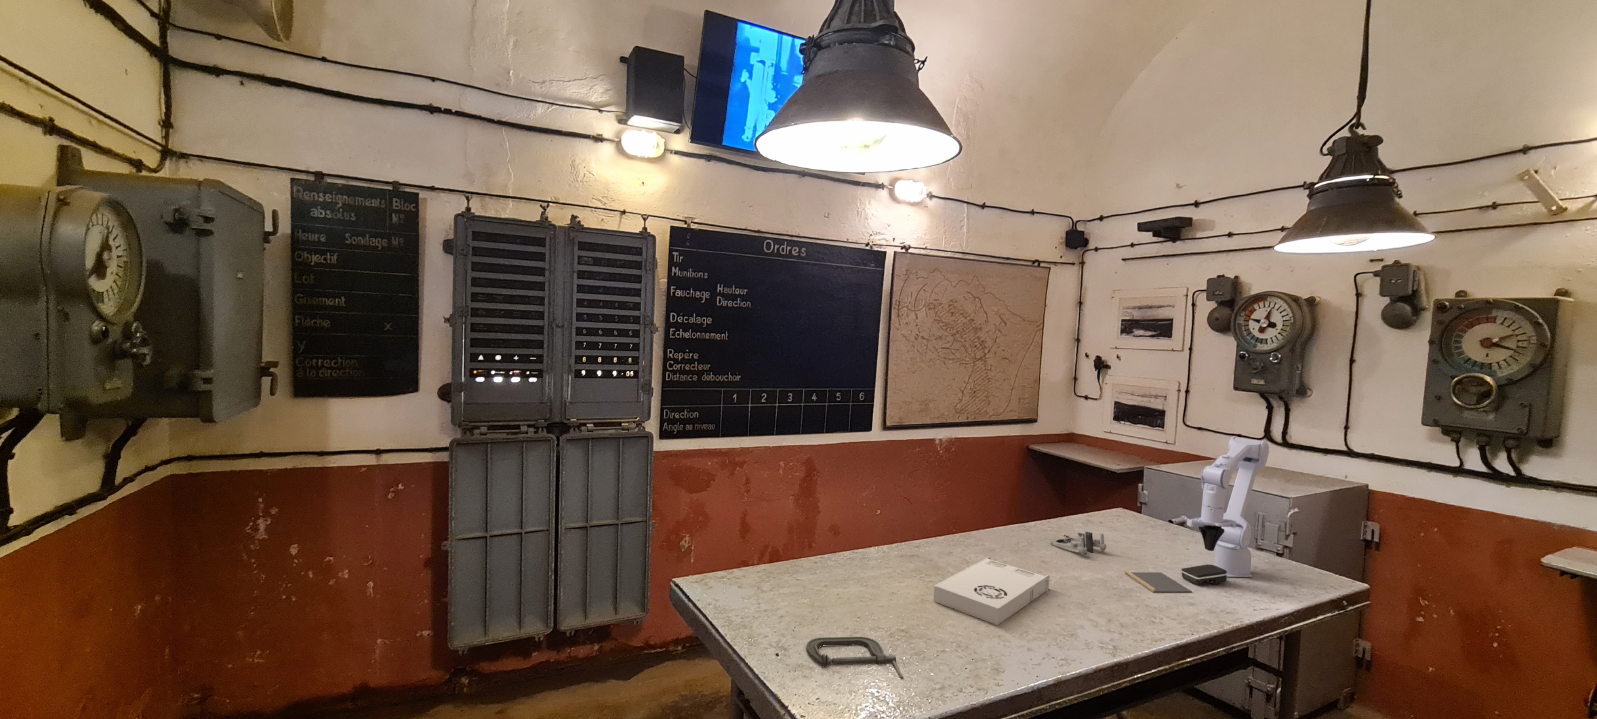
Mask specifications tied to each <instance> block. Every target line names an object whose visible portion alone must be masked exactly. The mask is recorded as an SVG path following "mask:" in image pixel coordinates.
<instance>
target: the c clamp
mask: <svg viewBox="0 0 1597 719" xmlns="http://www.w3.org/2000/svg"><path fill="white" fill-rule="evenodd" d="M852 644H858V645H857V646H862V645H864V646H863V647H865V646H866V647H865V648H867V649H868V651H869V652H870V656H866V655H865V656H848V657H847V656H844V657H843V656H842V657H840V656H838V657H832V658H831V657H830V656H829V654H825V653H823V654H821V653H820V652H819V649H820V648H821V647H820V646H823V645H847V646H853V645H852ZM819 647H820V648H819ZM818 648H819V649H818ZM806 651H807V652H808V654H809V655H810V656H811V657H812V658H813V660H815V661H817V662H819V663H820V664H823V665H822V667H823V666H824V667H823V668H826V667H825V666H827V665H828V666H830V665H832V664H833V665H847V663H851V664H852V663H854V664H856V663H857V664H873V663H874V662H875V664H877V665H886V664H887V663H892V664H893V667H894V669H895V670H896V672H897V675H898V678H899V679H900V678H901V679H900V680H903V678H904V675H902V672H901V671H900V668H899V667H898V664H897V656H896V655H895V654H888V655H886V654H885V652H884V649H883V648H882V646H881V644H880V643H879V642H878V641H877V640H875V639H873V638H870V637H866V636H837V637H816V638H812V639H810V640H809V641H808V642H807V643H806ZM867 662H868V663H867ZM844 663H845V664H844ZM829 664H830V665H829ZM828 666H827V667H828Z"/></svg>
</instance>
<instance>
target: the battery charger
mask: <svg viewBox="0 0 1597 719" xmlns="http://www.w3.org/2000/svg"><path fill="white" fill-rule="evenodd" d="M1180 572H1181V577H1182V579H1183V580H1185V581H1187V582H1190V583H1192V584H1194V585H1200V584H1201V583H1203V582H1208V583H1210V584H1212V585H1218V584H1223V583H1225V582H1227V579H1228V577H1227V571H1226V570H1224V569H1222V568H1220V567H1217V566H1215V565H1214V564H1202V565H1195V566H1190V567H1182V568H1181V571H1180Z"/></svg>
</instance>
